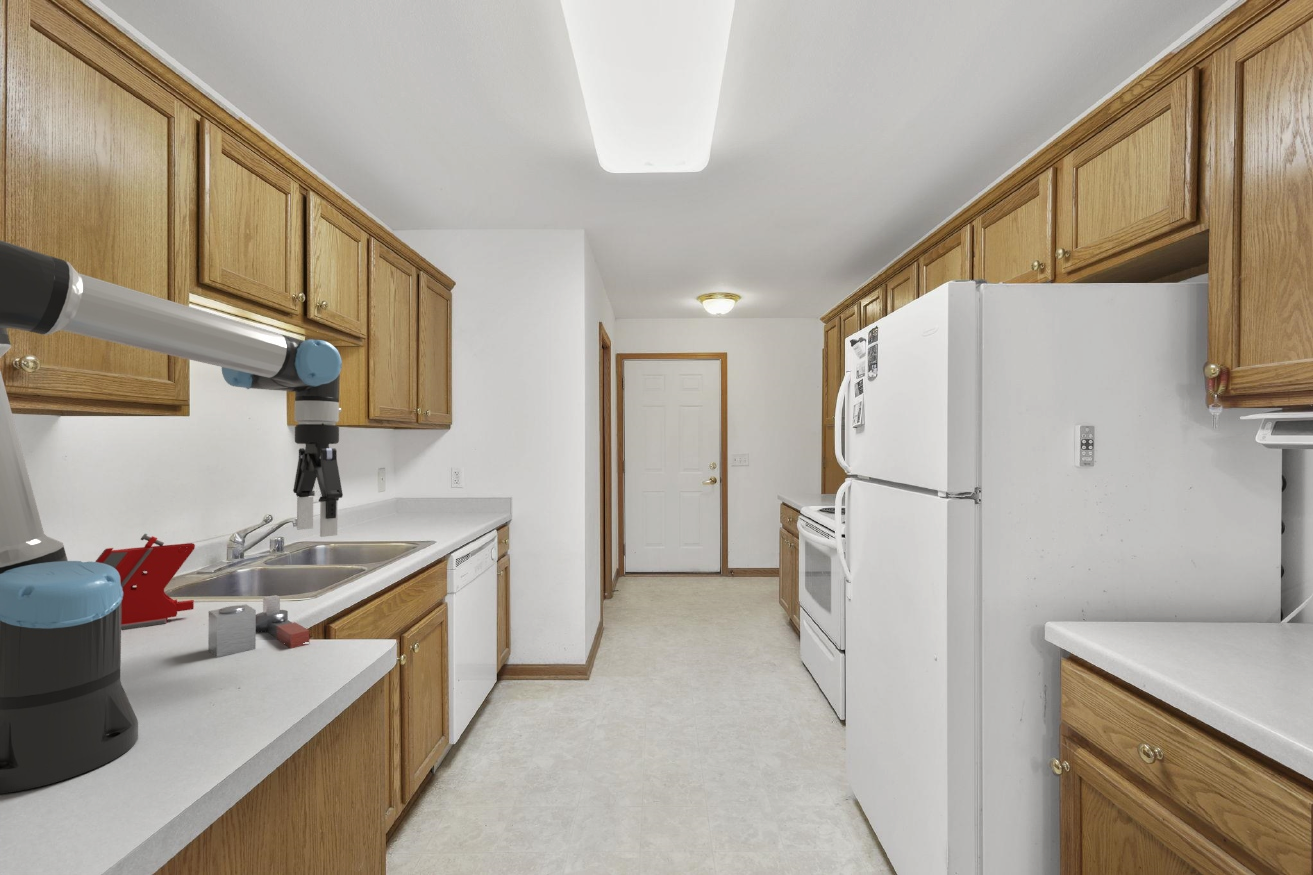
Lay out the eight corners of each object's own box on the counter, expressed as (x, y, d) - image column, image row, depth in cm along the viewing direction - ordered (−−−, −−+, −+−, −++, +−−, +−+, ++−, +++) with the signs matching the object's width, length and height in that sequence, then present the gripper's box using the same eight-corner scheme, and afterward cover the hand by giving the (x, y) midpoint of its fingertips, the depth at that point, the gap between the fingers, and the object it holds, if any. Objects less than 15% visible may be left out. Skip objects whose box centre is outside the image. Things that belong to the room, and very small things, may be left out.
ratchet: (282, 650, 110) (283, 615, 110) (251, 628, 123) (251, 597, 123) (316, 642, 114) (316, 608, 114) (282, 622, 127) (282, 592, 127)
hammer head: (216, 657, 106) (217, 614, 106) (208, 649, 110) (208, 608, 110) (255, 648, 111) (255, 607, 111) (246, 641, 115) (246, 602, 115)
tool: (13, 639, 112) (90, 518, 118) (19, 631, 116) (93, 514, 122) (163, 665, 126) (225, 555, 132) (163, 656, 130) (224, 551, 136)
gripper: (362, 422, 109) (361, 536, 108) (316, 425, 126) (315, 524, 125) (317, 421, 103) (316, 541, 103) (276, 425, 120) (275, 528, 120)
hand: (316, 532), depth 114 cm, fingers open, 13 cm apart
